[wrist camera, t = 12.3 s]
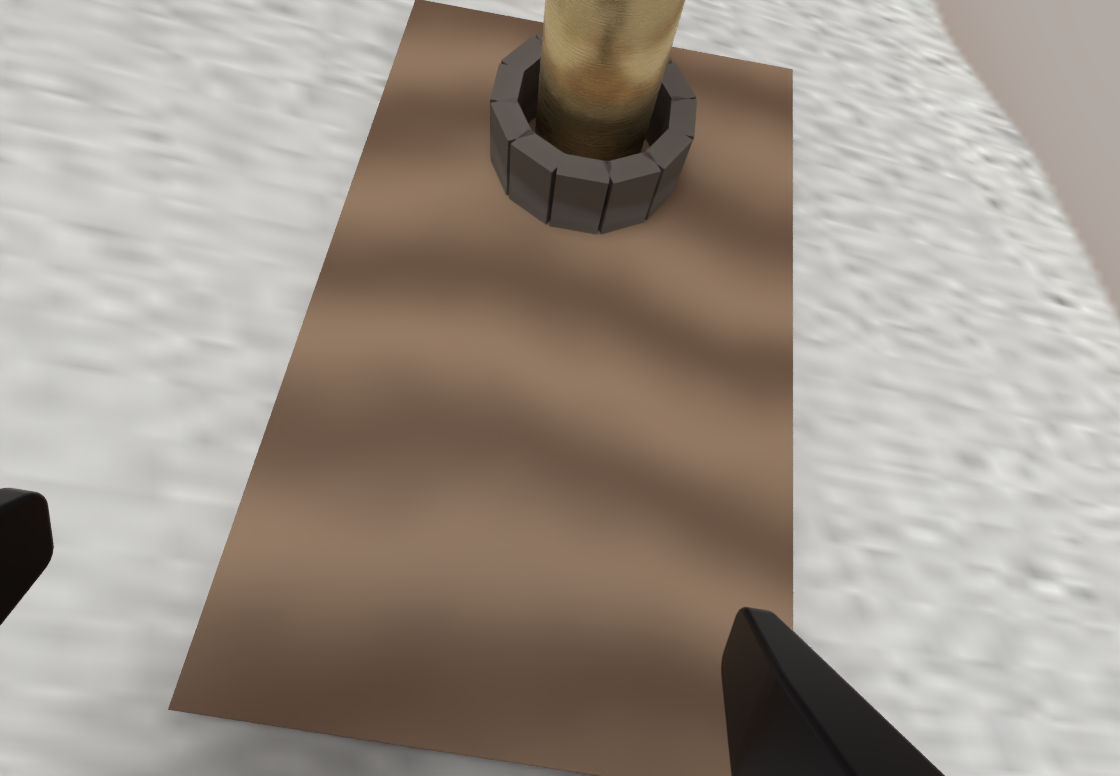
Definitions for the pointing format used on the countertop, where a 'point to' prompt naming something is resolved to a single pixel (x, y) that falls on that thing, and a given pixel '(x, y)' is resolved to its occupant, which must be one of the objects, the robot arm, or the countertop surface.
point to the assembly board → (525, 427)
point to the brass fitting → (602, 73)
